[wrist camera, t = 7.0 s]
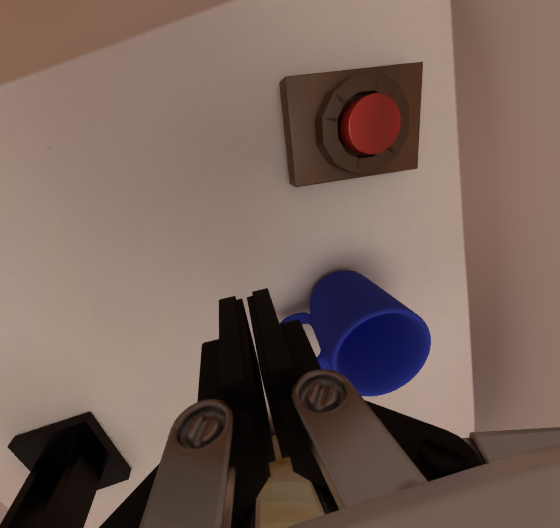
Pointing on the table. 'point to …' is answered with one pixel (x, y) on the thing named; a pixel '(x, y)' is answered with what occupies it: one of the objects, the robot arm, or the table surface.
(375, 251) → the table surface
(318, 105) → the button block
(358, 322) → the mug
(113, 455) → the switch bracket
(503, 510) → the robot arm
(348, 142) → the power button
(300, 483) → the decorative ball
